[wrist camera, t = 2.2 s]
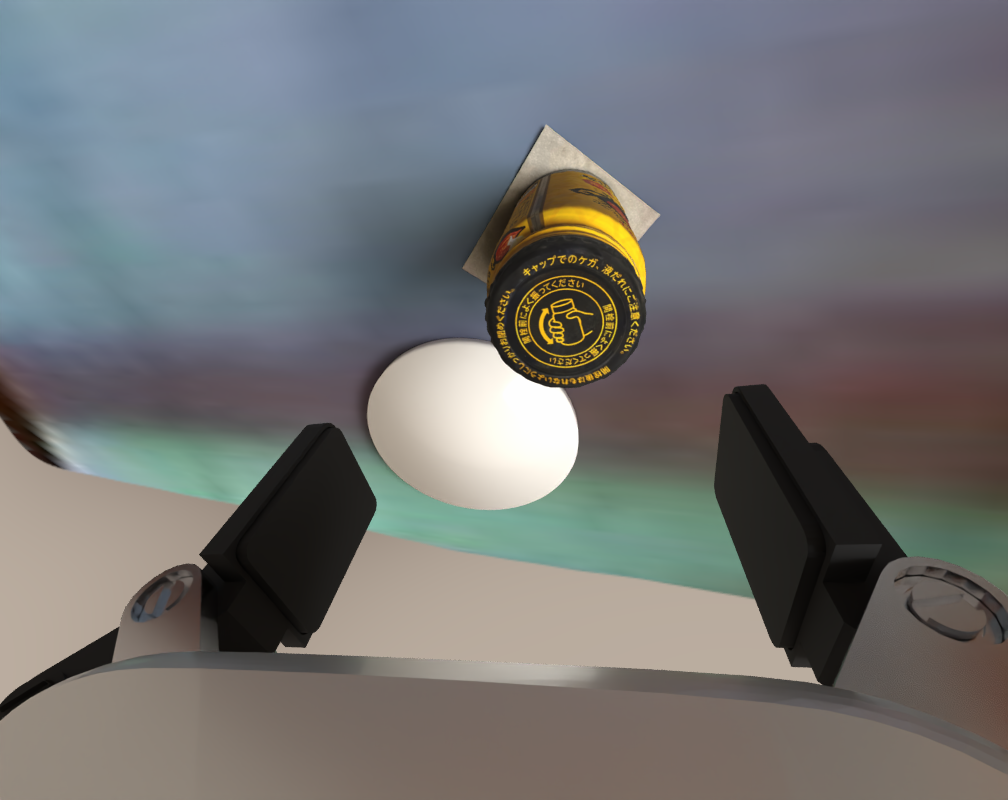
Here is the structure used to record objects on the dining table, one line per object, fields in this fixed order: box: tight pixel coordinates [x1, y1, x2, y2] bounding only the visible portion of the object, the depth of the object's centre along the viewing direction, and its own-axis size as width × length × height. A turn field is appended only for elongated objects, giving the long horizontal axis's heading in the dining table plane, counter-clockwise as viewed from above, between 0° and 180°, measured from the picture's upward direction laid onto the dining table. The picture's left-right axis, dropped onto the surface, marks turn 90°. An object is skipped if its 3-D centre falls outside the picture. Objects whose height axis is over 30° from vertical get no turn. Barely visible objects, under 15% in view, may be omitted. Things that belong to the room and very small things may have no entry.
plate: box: [367, 338, 578, 510], centre depth 32 cm, size 16×16×1 cm
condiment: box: [462, 125, 660, 388], centre depth 19 cm, size 7×8×12 cm
